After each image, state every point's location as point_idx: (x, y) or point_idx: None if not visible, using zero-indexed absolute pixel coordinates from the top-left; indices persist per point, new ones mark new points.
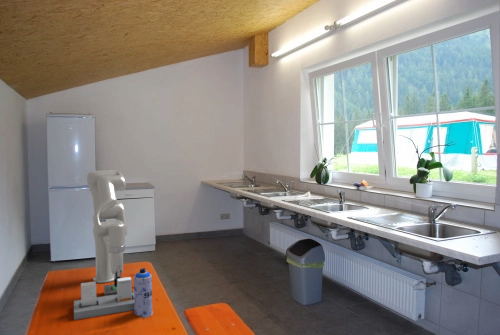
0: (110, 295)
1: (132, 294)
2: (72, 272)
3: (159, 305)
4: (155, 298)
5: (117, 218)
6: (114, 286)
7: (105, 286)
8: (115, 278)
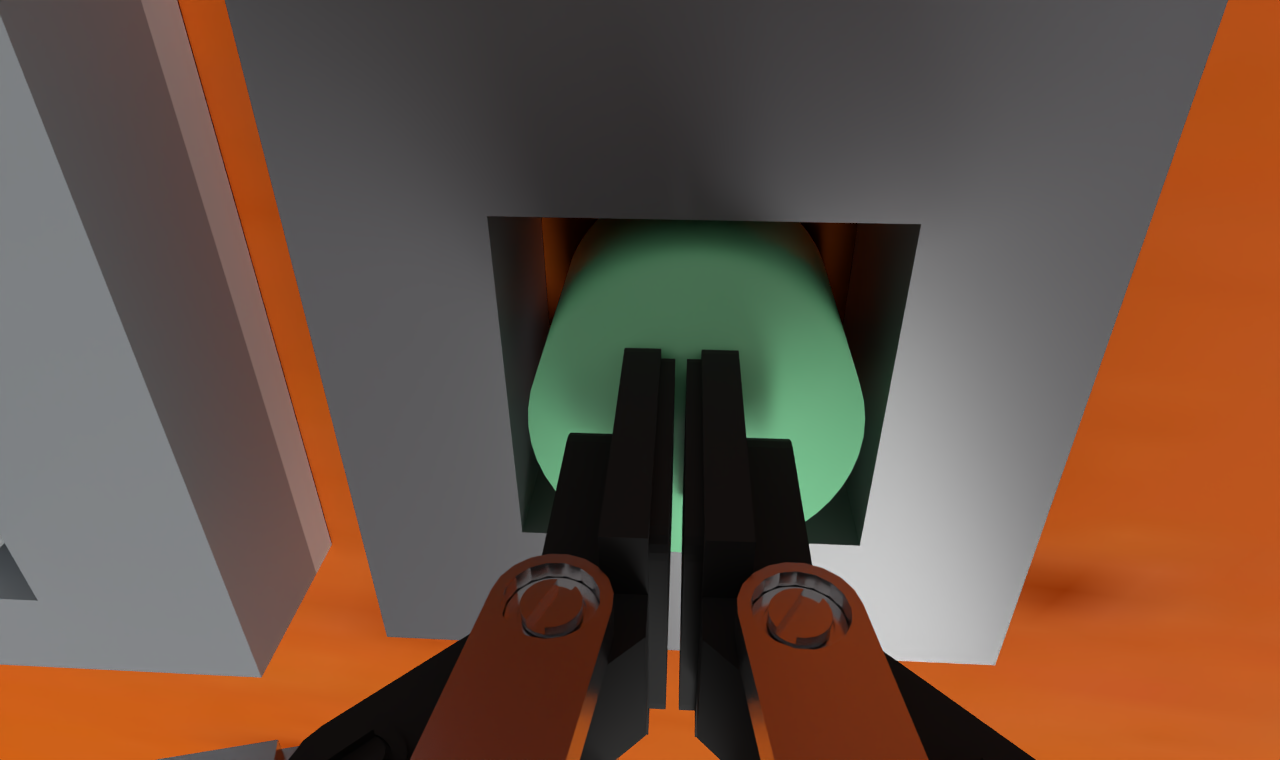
0: (27, 130)
1: (77, 599)
2: None
3: (43, 728)
4: None
5: None
6: (686, 339)
7: (1062, 34)
8: (495, 597)
